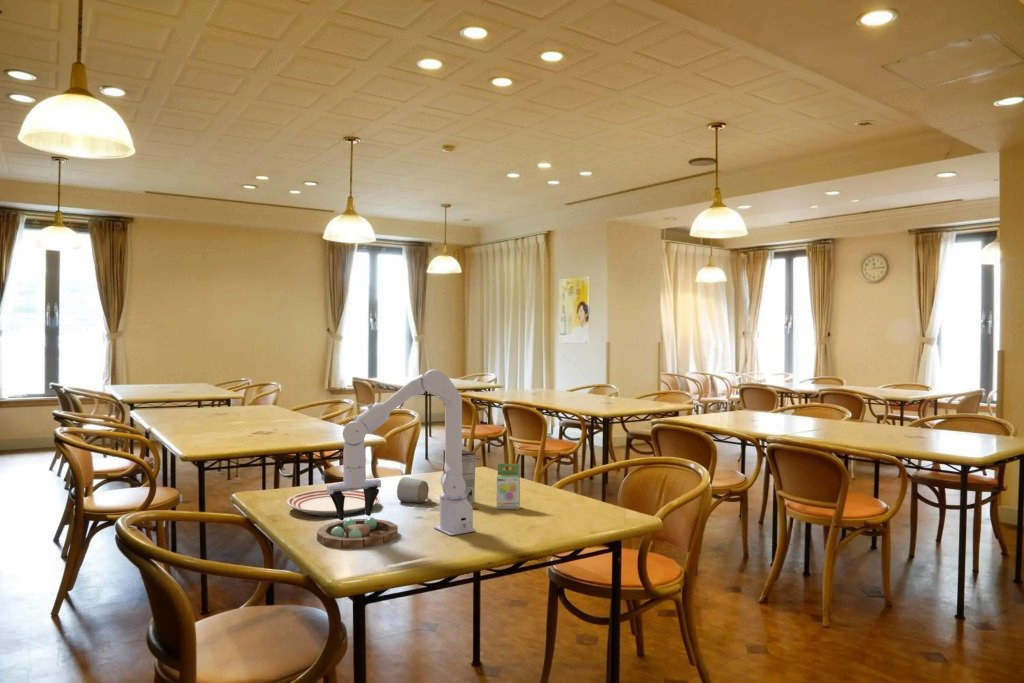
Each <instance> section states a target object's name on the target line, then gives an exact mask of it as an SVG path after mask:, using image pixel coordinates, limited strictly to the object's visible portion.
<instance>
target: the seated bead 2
mask: <svg viewBox="0 0 1024 683" xmlns="http://www.w3.org/2000/svg"><path fill="white" fill-rule="evenodd" d="M348 538H362V533H361V531H360V530H358V529H353V530H351V531H350V533H349V535H348Z"/></svg>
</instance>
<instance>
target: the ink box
mask: <svg viewBox="0 0 1024 683" xmlns="http://www.w3.org/2000/svg"><path fill="white" fill-rule="evenodd" d="M509 467H510V468H513V469H504V468H509ZM520 484H521V475H520V464H519V463H497V475H496V510H518V511H519V510H520V506H521V505H520V504H521V501H520V500H521V497H520V496H521V495H520V494H521V493H520V492H521V491H520V490H521V485H520Z"/></svg>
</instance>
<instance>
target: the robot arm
mask: <svg viewBox="0 0 1024 683" xmlns="http://www.w3.org/2000/svg"><path fill="white" fill-rule="evenodd" d="M424 390H425V391H426V392H427V393H429V394H431V395H433V396H435V397H437V398H438V399H439V400H440V401H441V402H442V403H443V404H444V407H445V409H444V412H445V413H444V415H445V416H444V450H445V465H444V464H443V472H444V473H442V475H441V477H440V484H441V487H442V492H441V493H440V494H439V524H437V525H433V529H436V530H438V531H440V532H442V533H444V534H446V535H448V536H455V535H461V534H462V535H463V534H466V533H467V534H468V533H471V532H473V533H474V532H476V528H474V526H473V525H474V523H473V521H474V519H473V518H474V515H473V514H474V510H473V506H472V503H469V502H468V501H467V498H466V493H464V492H465V490H466V483H465V481H464V479H463V475H462V450H463V442H462V440H463V397H462V394H461V393H460V391H459V390H458V389H457V387H456V386H455V385H454V383H453V382H452V380H451V379H450V377H448V376H447V375H446V374H445V373H444V372H442V371H441V370H439V369H437V368H430V369H427V370H426V371H425V372H424V373H423V374H420V375H418V376H416V377H414V378H413V379H411V380H409V382H406V384H405V385H403V386H402V387H401V388H400V389H398V390H397V391H396V392H395V393H393V394H392V395H391V396H390V397H388V398H387V399H386V400H385V401H384V402H374V403H369V404H368V405H367V407H366V410H364V411H363V412H362V413H360V414H359V415H358V416H357V415H354V417H353V418H352V419H353V420H351V421H349V422H348V423H346V425H345V426H344V428H343V430H342V438H343V456H342V457H343V463H342V464H343V466H342V468H343V482H339V483H334V484H331V485H330V484H329V485H326V489H327V493H328V494H330V497H331V498H332V500H333V502H334V505H335V507H336V511H337V515H336V516H337V519H338V520H339V521H344V518H345V514H344V500H345V496H344V495H343V493H342V492H345V491H353V490H362V491H364V497H365V509H364V515H365V516H367V517H371V515H372V511H373V507H374V505H373V504H374V501H375V499H376V497H377V495H378V496H379V492H380V489H379V488H382V486H381V485H382V480H381V479H378V478H376V479H366V448H365V437H366V435H370V434H372V433H373V432H374V431H375V430H377V429H378V428H379V427H381V426H382V425H383V424H385V423H386V422H387V421H388V420H390V414H391V412H392V411H394V410H395V409H397V408H398V407H399V406H400V405H402V404H404V403H405V402H406V401H408V400H410V399H411V397H414V396H417V395H418V396H419V395H424V394H425V391H424Z"/></svg>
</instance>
